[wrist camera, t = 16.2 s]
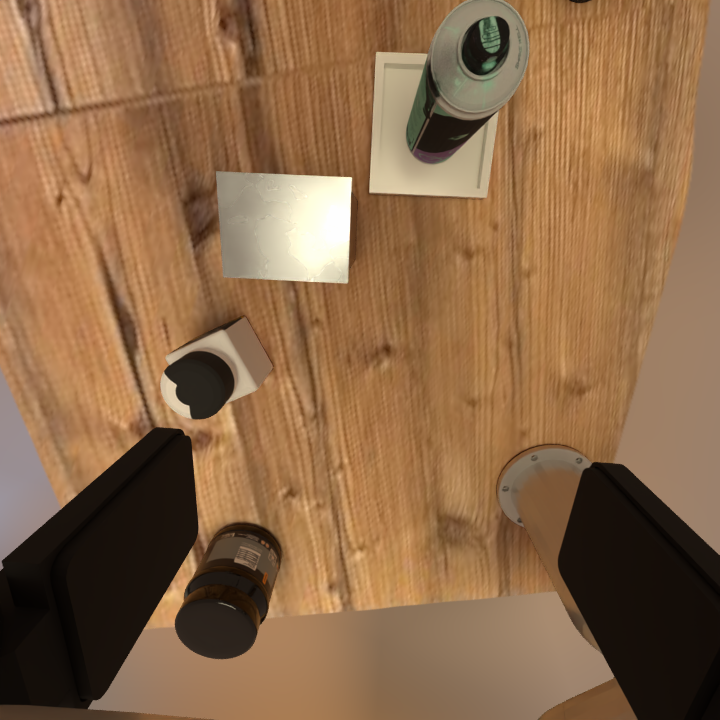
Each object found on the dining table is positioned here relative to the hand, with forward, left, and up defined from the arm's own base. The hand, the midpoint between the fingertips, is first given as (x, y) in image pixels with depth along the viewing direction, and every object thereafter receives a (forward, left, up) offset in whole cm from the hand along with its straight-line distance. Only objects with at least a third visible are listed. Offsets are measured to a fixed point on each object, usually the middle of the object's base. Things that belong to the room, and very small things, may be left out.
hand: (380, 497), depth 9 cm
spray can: (-5, -15, -35) cm, 39 cm away
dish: (-5, -15, -36) cm, 39 cm away
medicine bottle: (+16, +9, -36) cm, 40 cm away
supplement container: (+16, +39, -36) cm, 55 cm away
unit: (+6, -6, -36) cm, 37 cm away
